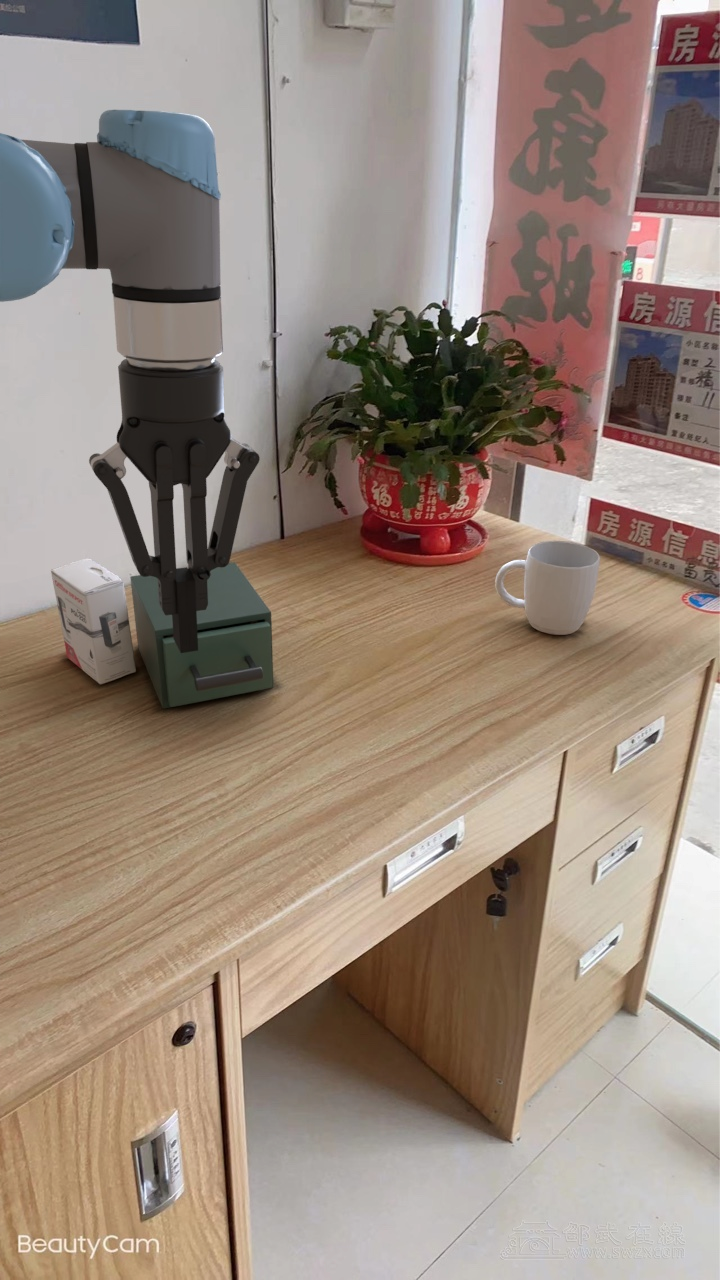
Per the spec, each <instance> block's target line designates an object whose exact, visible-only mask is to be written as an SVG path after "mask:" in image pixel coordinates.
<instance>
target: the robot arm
mask: <svg viewBox="0 0 720 1280" xmlns="http://www.w3.org/2000/svg"><path fill="white" fill-rule="evenodd" d="M220 200H221V191H220V190H219V177H218V167H217V152H216V138H215V135H214V131H213V129H212V128H211V125H210V124H209V123H208V122H207V121H206V120H205V119H204V118H202V117H201V116H199V115H195V114H189V113H184V112H183V113H182V112H174V111H173V112H171V111H160V110H135V109H107V110H104V111H103V112H102V113H101V114H100V116H99V119H98V132H97V134H96V141H86V142H85V143H84V142H75V143H68V142H67V143H66V142H56V141H55V142H54V141H43V140H32V139H20V138H18V137H15V136H12V135H9V134H5V133H2V132H0V303H4V302H13V301H14V302H15V301H19V300H23V299H26V298H29V297H31V296H33V295H35V294H37V292H39V291H40V290H42V289H43V288H45V287H46V286H48V285H50V283H52V282H53V281H54V280H55V279H56V278H57V277H58V276H59V275H60V272H61V271H62V270H65V269H66V270H68V269H70V270H75V269H76V270H78V269H79V270H80V269H81V270H82V269H86V270H109V272H110V277H111V293H112V298H113V299H112V301H113V312H114V313H113V314H114V329H115V341H116V342H115V345H116V351H117V353H118V354H120V355H121V356H122V357H124V359H123V360H121V361H120V363H119V364H118V366H117V367H118V368H117V370H118V383H119V394H120V407H121V423H120V426H119V428H118V430H117V432H116V443H115V444H113V445H112V446H111V447H109V448H108V449H107V450H105V451H104V452H103V453H98V452H97V453H93V454H91V455H90V457H89V459H88V463H89V465H90V467H91V470H92V471H93V473H94V475H95V476H96V477H97V479H98V480H99V481H100V482H101V484H102V485H104V487H105V488H106V489H107V492H108V495H109V498H110V501H111V503H112V507H113V509H114V512H115V515H116V517H117V520H118V524H119V525H120V528H121V529H120V530H121V531H122V534H123V537H124V541H125V543H126V546H127V549H128V551H129V554H130V557H131V561H132V562H133V564H134V566H135V568H136V570H137V572H138V574H139V575H141V576H143V577H148V576H153V577H156V578H157V581H158V596H159V604H160V606H161V608H162V610H163V612H164V614H165V615H172V622H173V638H174V641H175V643H176V645H177V647H178V649H179V651H180V653H186V652H192V651H198V634H197V612H196V611H200V610H206V608H207V606H208V588H207V580H208V579H209V577H210V575H211V573H210V571H211V570H213V569H215V568H217V567H221V568H222V567H225V566H227V565H228V564H229V563H230V561H231V557H232V552H233V548H234V543H235V538H236V534H237V529H238V524H239V520H240V516H241V511H242V507H243V503H244V498H245V494H246V490H247V484H248V481H249V479H250V478H251V476H252V475H253V472H254V471H255V470H256V468H257V466H258V465H259V462H260V459H261V458H260V454H259V453H258V452H256V450H254V449H253V448H252V447H251V446H250V445H249V444H248V443H241V442H239V441H237V440H236V439H235V438H233V437H232V432H231V429H230V427H229V426H228V423H227V421H226V419H225V418H226V417H225V388H224V387H225V386H224V385H225V384H224V382H225V381H224V366H222V365H221V363H220V362H219V360H217V358H219V357H220V356H221V355H222V354H223V352H224V343H223V342H224V341H223V340H224V339H223V317H222V316H223V315H222V291H221V230H220V229H221V228H220V227H221V224H220V222H221V221H220V216H221V215H220V214H221V213H220ZM223 455H224V457H223ZM222 457H223V462H224V464H225V465H226V466H225V469H224V472H223V475H222V480H221V484H220V490H219V494H218V499H217V504H216V508H215V513H214V517H213V523H212V527H211V532H210V537H209V541H208V528H207V526H208V525H207V503H206V501H207V500H206V497H207V495H208V488H207V478H209V476H210V475H211V474H212V472H213V470H214V469H215V467H216V466H217V464H218V463H219V461H220V460H221V459H222ZM126 458H127V459H128V460H129V461H130V463H132V465H134V467H135V468H136V469H137V470H138V471H139V473H140V474H141V475H142V476H143V477H144V478H145V480H147V481H148V488H149V491H150V503H151V519H152V535H153V551H154V555H150V554H149V551H148V548H147V544H146V542H145V539H144V536H143V534H142V530H141V528H140V527H141V526H140V524H139V521H138V519H137V516H136V513H135V509H134V507H133V503H132V502H131V498H130V495H129V493H128V490H127V488H126V486H125V484H124V482H123V481H122V479H123V478H124V477H125V476H126V474H127V469H126V466H125V460H126ZM177 485H181V488H182V494H183V495H182V497H183V498H182V499H183V518H184V534H185V535H184V536H185V537H184V538H185V555H186V556H185V557H186V563H187V566H186V567H179V568H177V555H176V539H175V537H176V536H175V519H174V518H175V517H174V498H175V490H174V486H177Z"/></svg>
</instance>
